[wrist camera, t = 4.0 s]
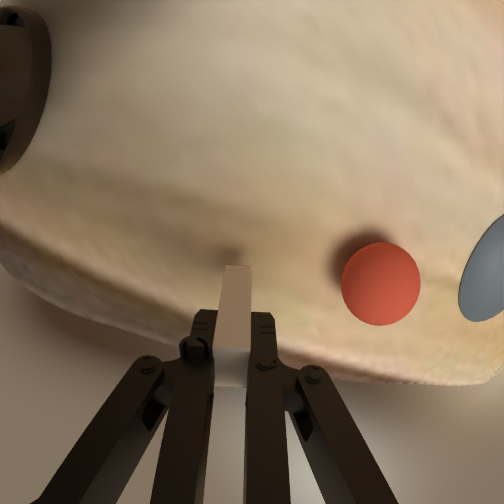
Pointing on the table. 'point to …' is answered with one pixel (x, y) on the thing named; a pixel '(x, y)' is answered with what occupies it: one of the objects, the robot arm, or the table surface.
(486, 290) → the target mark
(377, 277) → the ball
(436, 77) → the table surface
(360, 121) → the table surface
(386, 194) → the table surface
